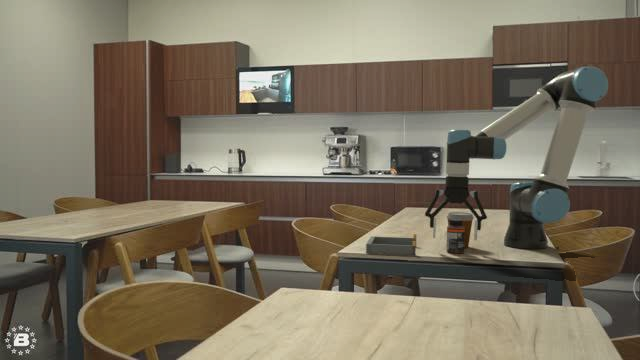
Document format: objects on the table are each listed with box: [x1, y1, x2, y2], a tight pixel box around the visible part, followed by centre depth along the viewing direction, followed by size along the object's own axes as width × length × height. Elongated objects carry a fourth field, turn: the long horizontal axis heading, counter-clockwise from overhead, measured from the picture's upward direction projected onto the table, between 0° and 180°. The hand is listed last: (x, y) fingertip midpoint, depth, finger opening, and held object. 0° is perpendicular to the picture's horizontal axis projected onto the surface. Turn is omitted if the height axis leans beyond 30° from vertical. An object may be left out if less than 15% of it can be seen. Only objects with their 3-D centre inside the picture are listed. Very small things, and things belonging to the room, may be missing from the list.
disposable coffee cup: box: [446, 211, 475, 249], centre depth 210 cm, size 10×10×12 cm
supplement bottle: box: [446, 219, 466, 255], centre depth 197 cm, size 6×6×11 cm
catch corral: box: [365, 233, 417, 256], centre depth 202 cm, size 16×18×4 cm
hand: (454, 238), depth 197 cm, fingers open, 13 cm apart
